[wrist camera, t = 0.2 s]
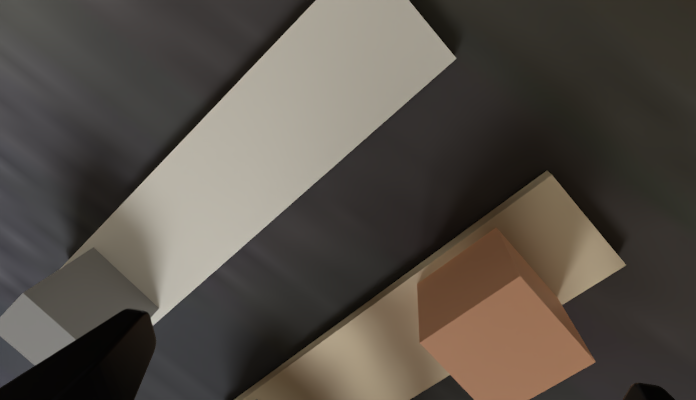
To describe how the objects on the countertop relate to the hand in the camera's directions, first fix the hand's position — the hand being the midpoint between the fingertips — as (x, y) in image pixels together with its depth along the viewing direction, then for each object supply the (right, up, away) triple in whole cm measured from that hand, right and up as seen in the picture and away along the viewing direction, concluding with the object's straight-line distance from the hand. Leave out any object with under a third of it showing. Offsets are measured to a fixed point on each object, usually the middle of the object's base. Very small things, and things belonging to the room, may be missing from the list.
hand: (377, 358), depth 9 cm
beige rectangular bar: (+2, -5, +18) cm, 18 cm away
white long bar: (-6, +4, +16) cm, 17 cm away
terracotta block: (+7, -2, +15) cm, 16 cm away
